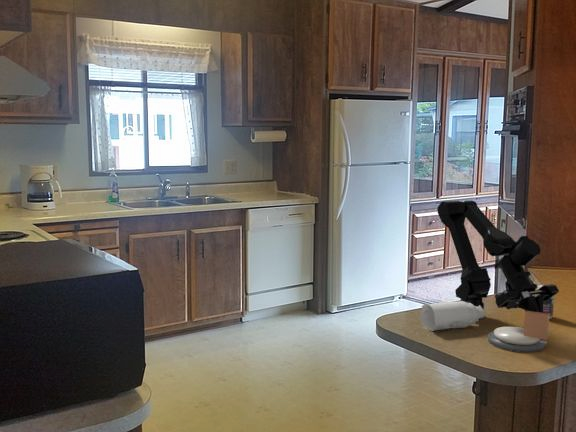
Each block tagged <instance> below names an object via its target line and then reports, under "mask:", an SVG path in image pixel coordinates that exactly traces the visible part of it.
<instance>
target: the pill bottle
mask: <svg viewBox="0 0 576 432" xmlns="http://www.w3.org/2000/svg"><path fill="white" fill-rule="evenodd" d="M543 285H544V284H540V285H537V286H538V287H537V288H536V291H537V290H538V289H540V288H541V287H542V286H543ZM554 304H555V295H554V296H553V297H552V298H550V299H549V300H548V301H544V302H543V313H547V314H550V315H549V320H551V319H552V318H553V316H554V306H555V305H554Z"/></svg>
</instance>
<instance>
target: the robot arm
mask: <svg viewBox="0 0 576 432" xmlns="http://www.w3.org/2000/svg"><path fill="white" fill-rule="evenodd" d="M436 209H437V215H438V217H439V219H440V221H441V223H442V224H443V225H444V226H445V227H446V228H448V230H449V232H450V237H451V239H452V241H453V244H454V245H453V246H454V247H455V251H456V255H457V257H458V260H459V263H460V266H461V275H460V283H461V284H459V285H458V287H457V288H456V289H455V297H456V298H459V299H460V301H464V302H467V303H471V304H473V305H474V306H477V307H479V305H480V306H481V307H482V309H483V310H484V309H485V308H484V307H485V303H484V302H483V299H484V298H485V299H486V298H488V295H489V293H490V289H491V286H492V284H491V280H492V279H491V277H490V275H489V273H488V270H487V268H485V267H483V268H482V267H480V265H479V264H478V262H477V258H476V255H475V252H474V249H473V247H472V243H471V241H470V237H469V234H468V231H467V229H466V226H465V222H466V219H467V221H469V223H470V224H471V226H473V228H474V229H475V230H476V231H477V232H478V234H479V235H480V236H481V238H482V239H483V240H482V243H483V247H484V248H485V250H486V251H487V253H488V255H489V256H491V257H500V256H502V257H501V258H497V259H495V263H494V266H493V267H494V269H495V270H496V269H497V270H498V269H500V270H501V272H502V274H503V275H504V277H505V279H506V281H505V283H504V284H505V287H506V289H505V290H503V291H502V292H497V293H495V295H494V299H495V305H496V306H497V308H498V309H502V308H503V309H504V308H506V310H511V309H521V310H524V311H526V310H528V311H534V312H540V313H543V302H544V301H548V300H549V299H550V298H552V297H553V296H554V297H555V296H556V295H557V294H558V293H559V292H560V290H559V289H558V286H557V285H556V284H553V283H551V284H550V283H549V284H542V285H543V286H542V287H541V288H540V289H538V290H537V287H538V285H537V284H536V283H533V282H532V281H531V278H530V276H531V274H532V273H531V272H530V271H528V270H527V271H526V268H525V266H528V265H529V264H530V263H531V262H532V261H533V260H534V259H535V258H537V257H538V256H539V255H540V254H541V252H542V251H541V247H540V244H538V243H537V242H536V241H535V240H533V239H531V238H529V236H528V235H520V237H519V238H518V239H517V240H516V241H515V240H514V238H512V236H510V235H509V234H508V233H507V232H505V231H503V230H501V229H498V228H497V227H496V226H495V225H494V223H493V222H491V220H490V219H489V218H488V217H487V215H486V214H485V213H484V212H483V211H482V210H481V209H480V207H479V206H478V203H477V202H476V201H474V200H461V201H460V200H447V201H446V200H445V201H441V202H440V203H439V205H438V206H437V208H436ZM483 319H484V317H483V318H479V320H483Z"/></svg>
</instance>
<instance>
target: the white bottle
mask: <svg viewBox="0 0 576 432" xmlns="http://www.w3.org/2000/svg"><path fill="white" fill-rule="evenodd" d="M419 314H420V321H421V324H422V326H423V328H424V330H426V329H432V330H431V331H430V332H433V331H440V330H449V329H451V328H452V329H460V328H462V329H463V328H464V329H465V328H468V326H471V325H474V324H475V323H476V322H479V321H480V319H479V318H483V319H484V317H485V311H484V310H483V309H482V307H481V306H480V305H479V307H477V306H474V305H473V304H471V303H467V302H464V301H450V302H449V301H448V302H438V303H424V304H423V305H422V306H421V309H420V313H419Z"/></svg>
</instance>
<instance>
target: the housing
mask: <svg viewBox="0 0 576 432" xmlns="http://www.w3.org/2000/svg"><path fill="white" fill-rule="evenodd" d="M487 341H488V342H490V343H489V344H491V345H492V344H493V345H492V346H494V345H495V346H494V347H496V346H497V347H496V348H498V347H500V348H499V349H501V348H503V349H502V350H505V349H507V350H506V351H509V350H512V351H511V352H515V351H519V352H518V353H535V352H540V351H543V350H544V349H545V348H546V344H547V343H548V342H547V341H546V339H540V341H539V342H538V343H536V344H532V345H517V344H511V343H506V342H503V341H500V340H498V339H496V338H495V337H494V331H491V332H490V333H489V334H488V336H487Z"/></svg>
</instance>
